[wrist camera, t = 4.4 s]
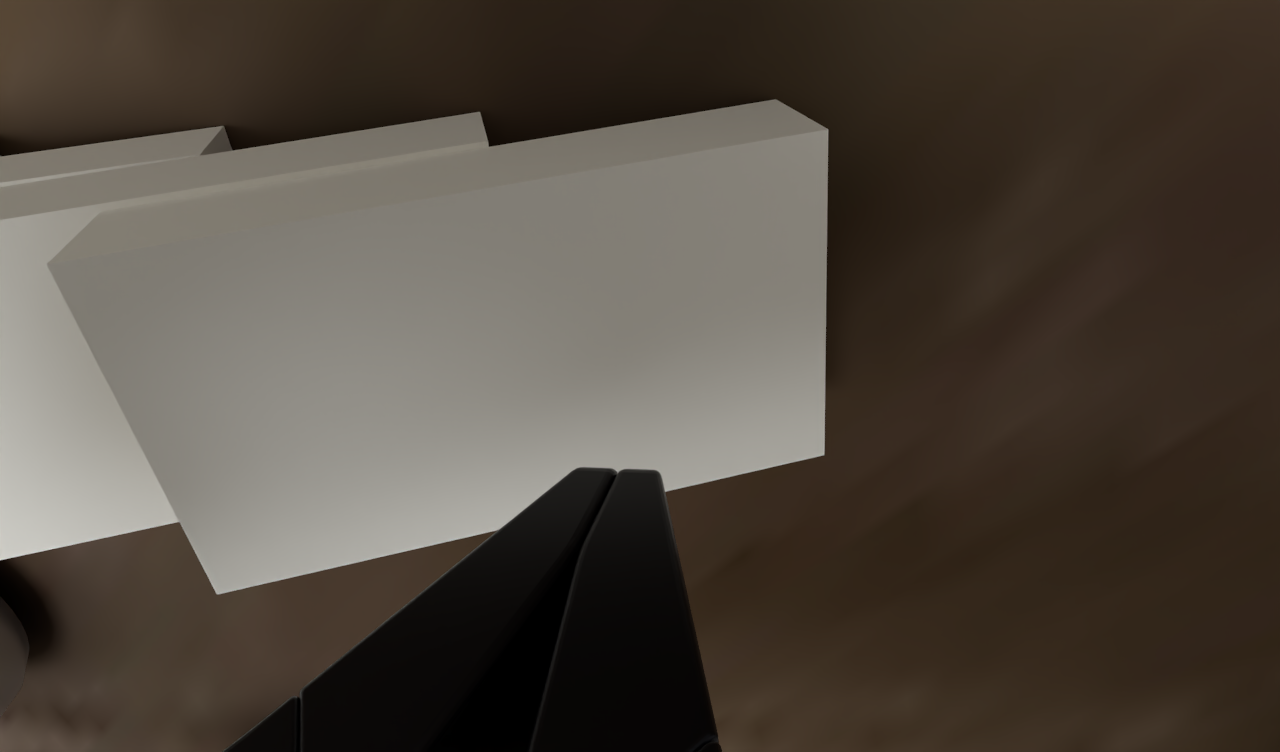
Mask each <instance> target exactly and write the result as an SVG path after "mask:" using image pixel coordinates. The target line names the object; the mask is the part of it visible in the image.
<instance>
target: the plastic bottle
mask: <svg viewBox="0 0 1280 752" xmlns="http://www.w3.org/2000/svg"><path fill="white" fill-rule="evenodd" d="M28 654H29V642H28V637H27V634H26V632H25V630H24V628H23V626H22V624H21V622H20V620H19V619H18V617H17V616H16V615H15V613H14V612H13V610H12V609H11V608H10V607H9V606H8V604H7V603H6V602H5V601H4V600H3V599H2V598H1V597H0V717H1V716H2V714H3V713H4V711H5V710H6V709H7V707H8V706H9V705H10V703H11V702H12V700H13V699H14V698H15V696H16V695H17V693H18V692H19V690H20V689H21V687H22V685H23V680H24V675H25V670H26V665H27V660H28Z"/></svg>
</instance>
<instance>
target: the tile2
mask: <svg viewBox="0 0 1280 752" xmlns="http://www.w3.org/2000/svg"><path fill="white" fill-rule="evenodd" d="M485 147H489V144H488V139H487V136H486V132H485V128H484V125H483V121H482V117H481V114H480V112H475V113H468V114H462V115H456V116H449V117H443V118H437V119H430V120H424V121H418V122H411V123H405V124H399V125H392V126H386V127H379V128H373V129H367V130H360V131H354V132H348V133H341V134H335V135H329V136H322V137H316V138H310V139H303V140H297V141H291V142H284V143H278V144H271V145H265V146H259V147H252V148H246V149H240V150H233V151H227V152H221V153H214V154H208V155H202V156H195V157H189V158H182V159H176V160H170V161H163V162H157V163H151V164H144V165H138V166H132V167H125V168H119V169H113V170H106V171H100V172H93V173H87V174H81V175H74V176H68V177H62V178H55V179H49V180H43V181H36V182H30V183H24V184H17V185H11V186H4V187H0V560H4V559H9V558H13V557H18V556H23V555H27V554H32V553H37V552H41V551H46V550H50V549H55V548H60V547H64V546H69V545H74V544H78V543H83V542H88V541H92V540H97V539H102V538H106V537H111V536H116V535H120V534H125V533H129V532H134V531H139V530H143V529H148V528H153V527H157V526H162V525H167V524H171V523H176V522H179V520H178V518H177V516H176V514H175V512H174V510H173V508H172V507H171V505H170V503H169V501H168V499H167V497H166V495H165V493H164V491H163V489H162V487H161V485H160V483H159V481H158V479H157V478H156V476H155V474H154V472H153V470H152V468H151V466H150V464H149V462H148V460H147V458H146V456H145V454H144V452H143V450H142V448H141V447H140V445H139V443H138V441H137V439H136V437H135V435H134V433H133V431H132V429H131V427H130V425H129V423H128V421H127V419H126V418H125V416H124V414H123V412H122V410H121V408H120V406H119V404H118V402H117V400H116V398H115V396H114V394H113V392H112V390H111V389H110V387H109V385H108V383H107V381H106V379H105V377H104V375H103V373H102V371H101V369H100V367H99V365H98V363H97V361H96V359H95V358H94V356H93V354H92V352H91V350H90V348H89V346H88V344H87V342H86V340H85V338H84V336H83V334H82V332H81V330H80V329H79V327H78V325H77V323H76V321H75V319H74V317H73V315H72V313H71V311H70V309H69V307H68V305H67V303H66V301H65V299H64V298H63V296H62V294H61V292H60V290H59V288H58V286H57V284H56V282H55V280H54V278H53V276H52V274H51V272H50V270H49V269H48V267H47V265H46V264H47V263H48V262H50V261H51V260H52V259H53V258H54V257H55V256H56V255H57V254H58V253H59V252H60V251H61V250H62V249H63V248H64V247H65V246H66V245H67V244H68V243H69V242H70V241H71V240H72V239H73V238H74V237H75V236H76V235H77V234H78V233H79V232H80V231H81V230H82V229H83V228H85V227H86V226H87V225H88V224H89V223H90V222H91V221H92V220H93V219H94V218H95V217H96V216H97V215H98V214H99V213H100V212H101V211H106V210H112V209H118V208H124V207H130V206H136V205H142V204H148V203H154V202H160V201H166V200H172V199H178V198H184V197H190V196H196V195H203V194H209V193H215V192H221V191H227V190H233V189H239V188H245V187H251V186H257V185H263V184H269V183H275V182H281V181H287V180H293V179H299V178H305V177H311V176H317V175H323V174H329V173H335V172H341V171H347V170H353V169H359V168H365V167H371V166H377V165H383V164H389V163H395V162H401V161H407V160H413V159H419V158H425V157H431V156H437V155H443V154H449V153H455V152H461V151H467V150H473V149H479V148H485Z"/></svg>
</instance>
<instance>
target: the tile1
mask: <svg viewBox="0 0 1280 752" xmlns="http://www.w3.org/2000/svg"><path fill="white" fill-rule="evenodd" d="M827 200H828V129H827V128H825V127H823V126H822V125H820V124H818V123H816V122H815V121H813V120H811V119H809V118H808V117H806V116H804V115H803V114H801V113H799V112H797V111H796V110H794V109H792V108H790V107H789V106H787V105H785V104H783V103H782V102H780V101H778V100H776V99H774V100H768V101H762V102H756V103H750V104H744V105H738V106H732V107H726V108H720V109H714V110H708V111H702V112H696V113H690V114H684V115H678V116H672V117H666V118H660V119H654V120H648V121H642V122H636V123H630V124H624V125H618V126H612V127H606V128H600V129H594V130H588V131H582V132H576V133H570V134H564V135H558V136H552V137H546V138H539V139H533V140H527V141H521V142H515V143H509V144H503V145H497V146H491V147H485V148H479V149H473V150H467V151H461V152H455V153H449V154H443V155H437V156H431V157H425V158H419V159H413V160H407V161H401V162H395V163H389V164H383V165H377V166H371V167H365V168H359V169H353V170H347V171H341V172H335V173H329V174H323V175H317V176H311V177H305V178H299V179H293V180H287V181H281V182H275V183H269V184H263V185H257V186H251V187H245V188H239V189H233V190H227V191H221V192H215V193H209V194H203V195H196V196H190V197H184V198H178V199H172V200H166V201H160V202H154V203H148V204H142V205H136V206H130V207H124V208H118V209H112V210H106V211H101V212H100V213H99V214H98V215H97V216H96V217H95V218H94V219H93V220H92V221H91V222H90V223H89V224H88V225H87V226H86V227H85V228H83V229H82V230H81V231H80V232H79V233H78V234H77V235H76V236H75V237H74V238H73V239H72V240H71V241H70V242H69V243H68V244H67V245H66V246H65V247H64V248H63V249H62V250H61V251H60V252H59V253H58V254H57V255H56V256H55V257H54V258H53V259H52V260H51V261H50V262H48V263H47V264H46V265H47V267H48V269H49V270H50V272H51V274H52V276H53V278H54V280H55V282H56V284H57V286H58V288H59V290H60V292H61V294H62V296H63V298H64V299H65V301H66V303H67V305H68V307H69V309H70V311H71V313H72V315H73V317H74V319H75V321H76V323H77V325H78V327H79V329H80V330H81V332H82V334H83V336H84V338H85V340H86V342H87V344H88V346H89V348H90V350H91V352H92V354H93V356H94V358H95V359H96V361H97V363H98V365H99V367H100V369H101V371H102V373H103V375H104V377H105V379H106V381H107V383H108V385H109V387H110V389H111V390H112V392H113V394H114V396H115V398H116V400H117V402H118V404H119V406H120V408H121V410H122V412H123V414H124V416H125V418H126V419H127V421H128V423H129V425H130V427H131V429H132V431H133V433H134V435H135V437H136V439H137V441H138V443H139V445H140V447H141V448H142V450H143V452H144V454H145V456H146V458H147V460H148V462H149V464H150V466H151V468H152V470H153V472H154V474H155V476H156V478H157V479H158V481H159V483H160V485H161V487H162V489H163V491H164V493H165V495H166V497H167V499H168V501H169V503H170V505H171V507H172V508H173V510H174V512H175V514H176V516H177V518H178V520H179V522H180V524H181V526H182V528H183V530H184V532H185V534H186V536H187V538H188V539H189V541H190V543H191V545H192V547H193V549H194V551H195V553H196V555H197V557H198V559H199V561H200V563H201V565H202V567H203V568H204V570H205V572H206V574H207V576H208V578H209V580H210V582H211V584H212V586H213V588H214V590H215V592H216V594H222V593H226V592H230V591H235V590H239V589H244V588H248V587H252V586H257V585H261V584H265V583H270V582H274V581H278V580H283V579H287V578H291V577H296V576H300V575H305V574H309V573H313V572H318V571H322V570H326V569H331V568H335V567H339V566H344V565H348V564H352V563H357V562H361V561H366V560H370V559H374V558H379V557H383V556H387V555H392V554H396V553H400V552H405V551H409V550H413V549H418V548H422V547H426V546H431V545H435V544H440V543H444V542H448V541H453V540H457V539H461V538H466V537H470V536H474V535H479V534H483V533H487V532H492V531H496V530H499V529H500V528H502V527H503V526H504V525H505V524H507V523H508V522H509V521H510V520H512V519H513V518H514V517H515V516H517V515H518V514H519V513H520V512H522V511H523V510H524V509H525V508H527V507H528V506H529V505H530V504H531V503H533V502H534V501H535V500H536V499H538V498H539V497H540V496H541V495H543V494H544V493H545V492H546V491H548V490H549V489H550V488H551V487H553V486H554V485H555V484H556V483H558V482H559V481H560V480H561V479H562V478H564V477H565V476H566V475H567V474H569V473H570V472H571V471H573V470H574V469H576V468H579V467H594V468H612V469H614V470H616V471H617V472H619V471H621V470H623V469H648V470H657V471H658V472H660V474H661V476H662V480H663V485H664V489H665V492H666V491H670V490H675V489H679V488H683V487H688V486H692V485H697V484H701V483H705V482H710V481H714V480H718V479H723V478H727V477H731V476H736V475H740V474H744V473H749V472H753V471H758V470H762V469H766V468H771V467H775V466H779V465H784V464H788V463H792V462H797V461H801V460H805V459H810V458H814V457H819V456H823V455H824V450H825V367H826V283H827Z"/></svg>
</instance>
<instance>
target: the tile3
mask: <svg viewBox="0 0 1280 752" xmlns="http://www.w3.org/2000/svg"><path fill="white" fill-rule="evenodd" d="M227 151H232V148H231V145H230V142H229V139H228V136H227V133H226V130H225V128H224V126H218V127H211V128H204V129H197V130H189V131H182V132H175V133H168V134H160V135H153V136H146V137H139V138H132V139H124V140H117V141H110V142H103V143H95V144H88V145H81V146H74V147H66V148H59V149H52V150H45V151H37V152H30V153H23V154H16V155H8V156H1V157H0V187H4V186H11V185H17V184H24V183H30V182H36V181H43V180H49V179H55V178H62V177H68V176H74V175H81V174H87V173H93V172H100V171H106V170H113V169H119V168H125V167H132V166H138V165H144V164H151V163H157V162H163V161H170V160H176V159H182V158H189V157H195V156H202V155H208V154H214V153H221V152H227Z"/></svg>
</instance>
